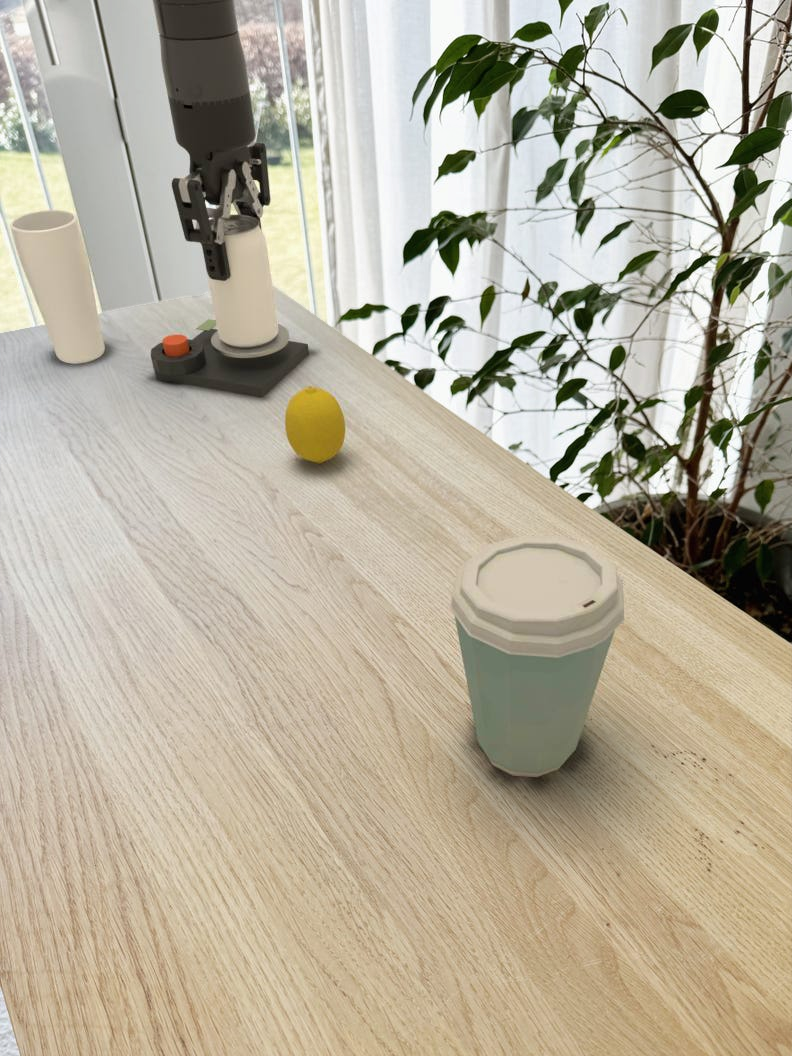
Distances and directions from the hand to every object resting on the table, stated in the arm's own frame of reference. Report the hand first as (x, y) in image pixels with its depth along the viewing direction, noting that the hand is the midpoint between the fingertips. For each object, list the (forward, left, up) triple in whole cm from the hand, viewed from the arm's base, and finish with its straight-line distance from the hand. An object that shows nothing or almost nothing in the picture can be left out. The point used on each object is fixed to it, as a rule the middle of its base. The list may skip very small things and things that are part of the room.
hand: (237, 265), depth 104 cm
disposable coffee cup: (+46, -44, -11) cm, 65 cm away
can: (0, 0, -8) cm, 8 cm away
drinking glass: (-20, -4, -11) cm, 23 cm away
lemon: (+16, -16, -11) cm, 25 cm away
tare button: (-6, -4, -9) cm, 12 cm away
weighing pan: (-1, 0, -8) cm, 8 cm away
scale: (-2, -1, -11) cm, 11 cm away
